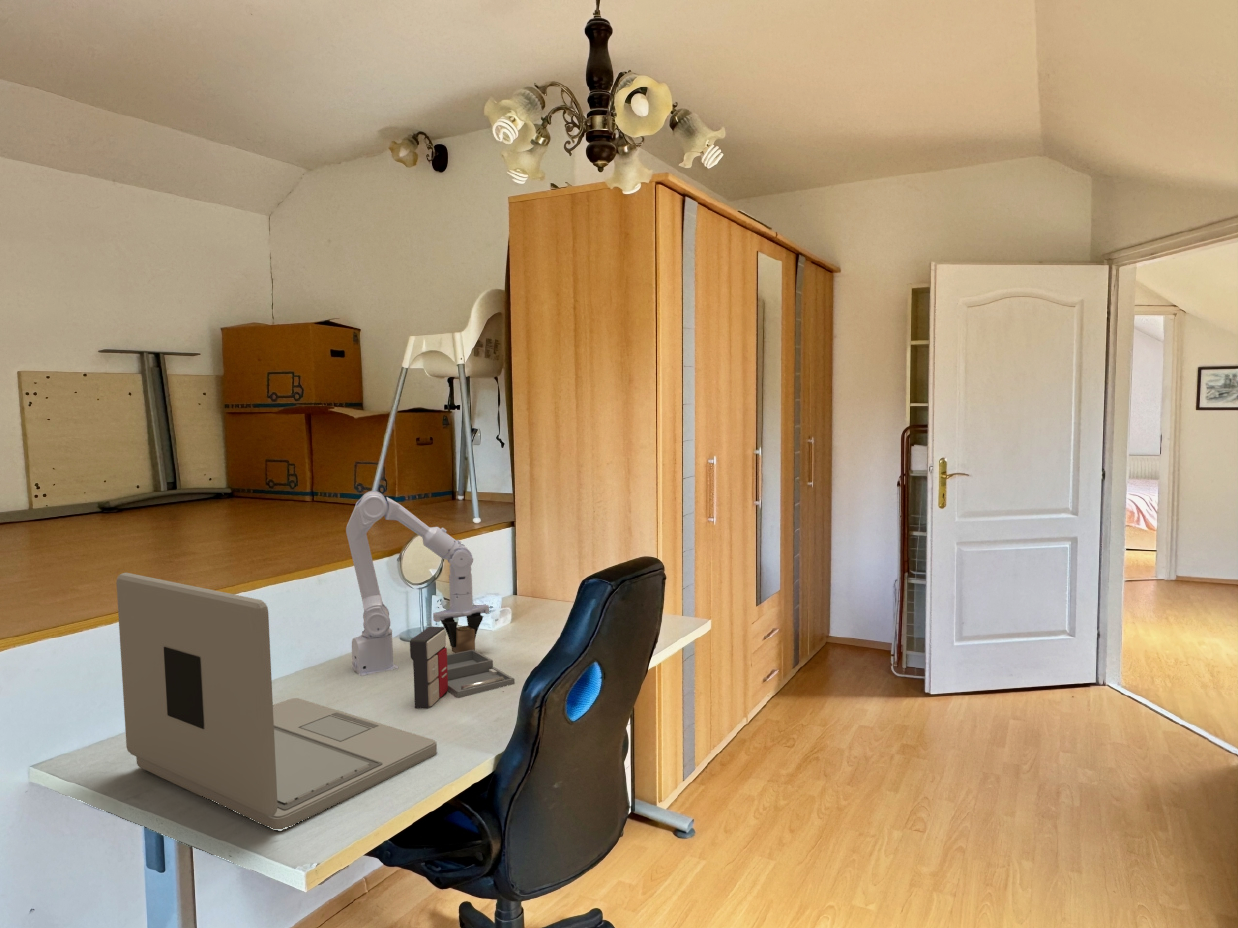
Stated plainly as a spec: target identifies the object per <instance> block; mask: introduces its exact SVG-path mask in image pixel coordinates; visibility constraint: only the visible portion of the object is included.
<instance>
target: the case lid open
mask: <svg viewBox="0 0 1238 928" xmlns="http://www.w3.org/2000/svg"><path fill="white" fill-rule="evenodd" d="M498 677H503V678H504V680H503V681H499V682H494V683H490V684H486V685H481V686H477V687H473V688H468V689H464V690H461V686H463V685H467V684H472V683H476V682H480V681H485V680H489V679H494V678H498ZM515 684H516V683H515V678H514V677H512V676H510V675H509V674H507V673H505V672H503V671H501V670H500V669H498V668H496V667H495V666H493V667H492V669H489V672H485V673H481V674H476V675H472V676H467V677H463V678H458V679H454V680H449V681H448V691H447V692H448V693H450V694H451V695H452V696H454V697H455V698H457V699H460V698H464V697H467V696H473V695H476V694H480V693H483V692H488V691H492V690H495V689H500V688H503V686H504V687H507V685H508V686H511V685H515ZM499 687H500V688H499Z"/></svg>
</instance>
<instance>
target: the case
mask: <svg viewBox="0 0 1238 928" xmlns="http://www.w3.org/2000/svg"><path fill="white" fill-rule="evenodd" d="M453 653H454V652H453ZM453 653H450V654H449V653H448V654H449V655H448V654H447V671H448V681H449V680H454V679H458V678H463V677H467V676H472V675H476V674H481V673H485V672H489V669H492V667H494V661H493V659H491V658H489V657H488V656H486V655H484V654H483V653H481V652H479V651H477V650H476V649H475V650H469V651H464V652H459V653H454V654H453Z"/></svg>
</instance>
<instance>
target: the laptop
mask: <svg viewBox="0 0 1238 928" xmlns="http://www.w3.org/2000/svg"><path fill="white" fill-rule="evenodd" d="M116 595H117V596H116V597H117V598H116V599H117V612H118V616H117V617H118V630H119V643H120V644H119V645H120V663H121V679H122V680H121V681H122V695H123V710H124V711H123V713H124V727H125V729H124V731H125V745H126V746H125V747H126V750H127V752H128V753H129V754H130V755H132V756H134V757H136V758H135V759H136V765H137V766H138V767H139V768H140V769H142V770H144V771H147V772H149V773H151V774H153V775H155V776H158V777H160V778H162V779H164V780H166V781H168V782H170V783H172V784H174V785H177V786H179V787H180V788H182V789H185V790H187V791H189V792H191V793H193V794H195V795H198V796H200V797H202V796H203V797H202V798H204V797H205V798H204V799H206V798H208V799H210V800H213V801H215V802H217V803H219V804H221V805H223V806H226V807H227V808H229V809H231V810H234V811H236V812H238V813H240V814H242V815H244V816H246V817H248V818H251V819H253V820H255V821H257V822H259V823H261V824H263V825H266V826H269V827H271V828H273V829H283V828H285V827H289V826H292V825H294V824H296V823H298V822H300V821H302V820H304V821H306V820H308V819H309V818H308V817H310V818H312V817H314V816H316V815H318V814H320V813H322V812H324V811H326V810H328V809H330V808H332V807H334V806H336V805H338V804H340V803H342V802H344V801H347V800H348V799H350V798H352V797H354V796H356V795H358V794H360V793H362V792H364V791H367V790H368V789H370V788H372V787H375V786H376V785H378V784H380V783H383V782H384V781H386V780H388V779H390V778H391V777H394V776H395V775H397V774H399V773H402V772H404V771H406V770H408V769H410V768H412V767H414V766H415V765H417V764H419V763H421V762H423V761H425V760H428V759H430V758H432V757H433V756H434V755H436V754H437V751H438V749H437V748H438V746H437V745H438V744H437V741H436V740H434V739H432V738H429V737H425V736H423V735H419V734H416V733H412V732H410V731H406V730H402V729H400V728H397V727H394V726H391V725H388V724H387V725H386V724H384V723H381V722H377V721H374V720H370V719H367V718H363V717H361V716H357V715H354V714H351V713H347V712H344V711H341V710H338V709H334V708H332V707H329V706H324V705H321V704H319V703H315V702H311V701H309V700H306V699H303V698H299V697H293V698H288V699H285V700H283V701H281V702H278V703H273V685H272V683H273V682H272V681H273V679H272V661H271V659H272V658H271V643H270V642H271V640H270V639H271V638H270V622H269V620H270V619H269V618H270V617H269V608H268V606H267V603H265V601H264V600H262V599H258V598H254V597H250V596H243V595H239V594H233V593H229V592H225V591H220V590H214V589H208V588H204V587H199V586H194V585H190V584H189V585H188V584H183V583H179V582H175V581H170V580H165V579H160V578H154V577H149V576H145V575H140V574H137V573H136V574H134V573H131V572H124V573H121V574H119V575H118V576H117V578H116ZM208 799H207V800H208ZM210 800H209V801H210ZM339 802H340V803H339ZM337 803H338V804H337ZM219 804H218V805H219ZM335 804H336V805H335ZM221 805H220V806H221ZM333 805H334V806H333ZM223 806H222V807H223ZM331 806H332V807H331ZM329 807H330V808H329ZM227 808H226V809H227ZM327 808H328V809H327ZM229 809H228V810H229ZM325 809H326V810H325ZM231 810H230V811H231ZM321 811H322V812H321ZM319 812H320V813H319ZM238 813H237V814H238ZM317 813H318V814H317ZM240 814H239V815H240ZM315 814H316V815H315ZM242 815H241V816H242ZM313 815H314V816H313ZM244 816H243V817H244ZM311 816H312V817H311ZM246 817H245V818H246ZM248 818H247V819H248ZM307 818H308V819H307ZM305 819H306V820H305ZM257 822H256V823H257ZM302 822H303V821H302ZM259 823H258V824H259ZM300 823H301V822H300ZM261 824H260V825H261ZM298 824H299V823H298ZM263 825H262V826H263ZM296 825H297V824H296ZM294 826H295V825H294ZM292 827H293V826H292Z"/></svg>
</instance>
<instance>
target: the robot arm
mask: <svg viewBox="0 0 1238 928" xmlns="http://www.w3.org/2000/svg"><path fill="white" fill-rule="evenodd" d="M383 517H384V519H385V521H386V520H388V521H397V522H399V523H400V524H402V525H403V526H405V527H406V528H407V529H409V530H410V531H412V532H413V533H415V534H417V535H418V536H419V537H421V538H422V543H423V544H422V545H423V546H424V547H426V548H427V549H428V550H430V551H431V552H432V553H434V554H435V555H437V556H438V557H439V558H440V559H442V560H447V562H448V563H449V564H450V565H449V575H448V580H449V581H448V583H449V584H448V585H449V587H448V588H449V608H448V609H444V610H441V611H438V612H433V613H432V615H433V616H432V619H433V622H435V623H437V622H438V623H440V622H441V624H442V627H444V628H445V633H446V635H447V636H448V637H447V638H448V640H449V646H450V647H451V648H452V647H456V628H457V627H458V626H457V625H458V622H457V621H455V619H456V618H458V619H459V618H464V617H466V621H467V626H469V627H471V628H473V629H474V630H475V639H476V638H477V637H476V636H477V633H478V630H479V628H480V625H481V623H482V622H483V618H484V617H483V615H482V614H489V613H490V606H489V605H488V604H476V605H474V603H473V602H474V601H473V575H472V565H473V563H474V558H473V555H472V553H471V551H470V549H468V547H466V545H465V544H464V543H463V544H462V541H461V540H460V539H455V538H453V536H451V535H449V534H448V533H447V531H448V530H447V529H446V528H444V527H441V528H440V527H439V526H433V527H432V526H431V527H430V526H429V525H427V524H426V523H425V522H423V521H421V520H420V519H419V518H418V517H417V516H416V515H415V514H413V513H412V512H411V511H409V510H408V509H407V508H405V507H404V506H403V505H401V504H400V503H398V502H396V501H395V500H394V499H392V498H389V497H388V496H386V497H385V495H383V493H381V492H380V491H375V490H371V491H370V490H369V491H367V492H365V493H364V494H363V495H362V496H361V497H360V498H359V499H358V500H357V501H356V503H355V506H354V508H353V511H352V513H351V515H350V518H349V520H348V522H347V525H346V527H345V531H346V532H345V534H346V537H347V541H348V545H349V550H350V554H351V555H350V556H351V558H352V563H353V568H354V571H355V575H356V579H357V584H358V588H359V592H360V595H361V601H362V607H363V614H362V618H363V623H362V624H363V625H362V626H363V631H362V632H361V635H359V636H357V637H354V638H352V640H351V658H352V659H351V660H352V661H351V662H352V665H351V670H354V671H355V672H356V673H357V674H358V675H359V676H367V675H373V674H377V673H382V672H387V671H391V670H392V671H394V670H396V669H397V670H398V669H399V668H400V667H399V666H398V665H397V664H395V663H394V650H393V649H394V648H393V647H394V645H393V629H391V628H390V627H391V619H390V612H389V611H390V610H389V609H388V608H387V606H386V605H385V604H384V602H383V599H382V598H383V597H382V595H381V590H380V587H379V583H378V578H377V574H376V570H375V566H374V562H373V556H372V552H371V547H370V544H369V539H368V534H367V533H368V532H369V531H370V529H371V528H372V527H373V525H374V524H375V523H377V521H379V520H381V519H382V518H383Z"/></svg>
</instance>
